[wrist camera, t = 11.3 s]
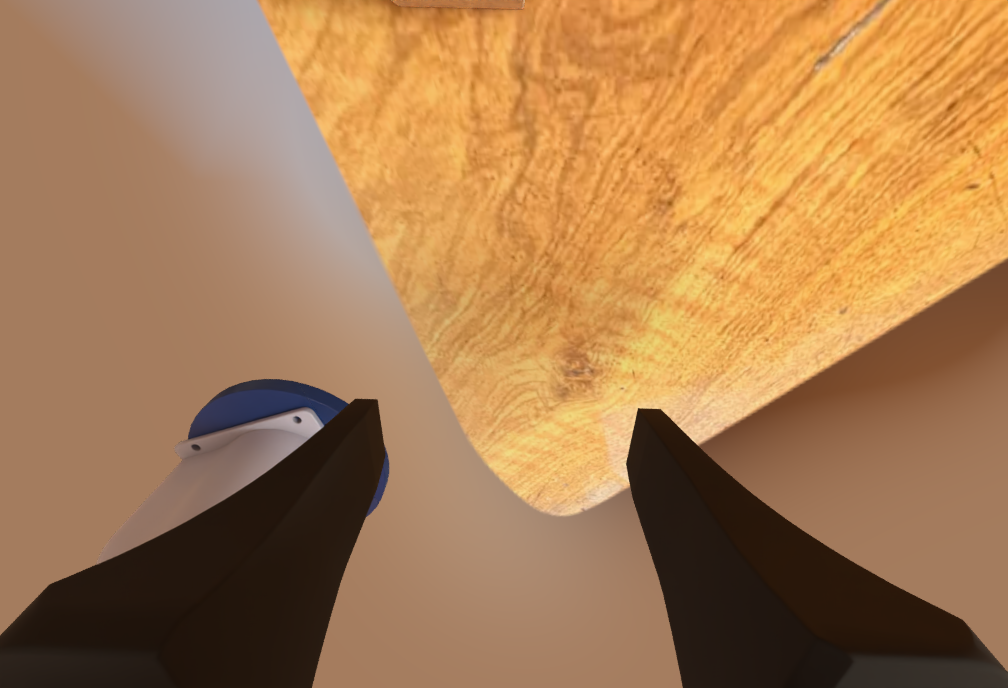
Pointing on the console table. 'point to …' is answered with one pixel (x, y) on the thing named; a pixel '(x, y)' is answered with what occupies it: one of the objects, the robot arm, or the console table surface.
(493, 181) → the console table surface
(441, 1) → the beige rectangular block
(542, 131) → the console table surface
